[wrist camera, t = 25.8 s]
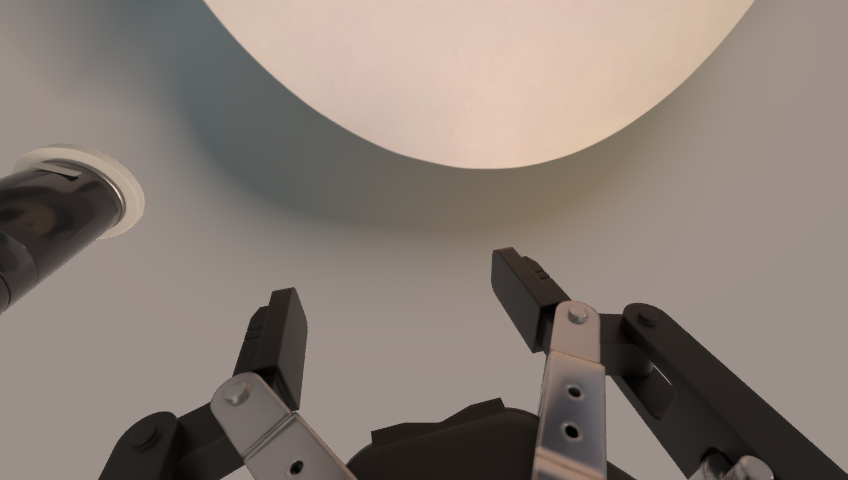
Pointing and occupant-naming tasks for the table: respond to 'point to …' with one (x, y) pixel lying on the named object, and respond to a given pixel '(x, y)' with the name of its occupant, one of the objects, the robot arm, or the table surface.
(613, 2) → the table surface
